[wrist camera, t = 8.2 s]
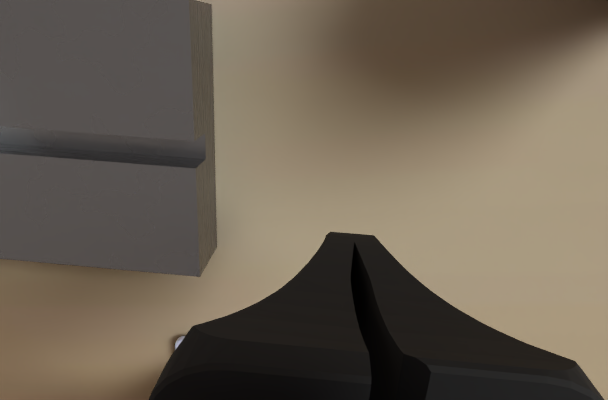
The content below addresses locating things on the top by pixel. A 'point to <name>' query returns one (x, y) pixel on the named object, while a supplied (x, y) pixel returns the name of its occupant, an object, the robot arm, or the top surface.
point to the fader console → (107, 134)
